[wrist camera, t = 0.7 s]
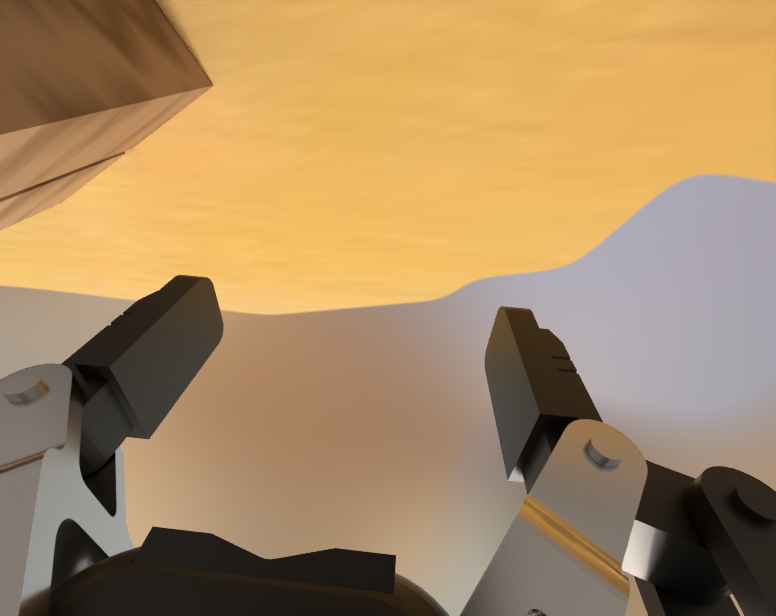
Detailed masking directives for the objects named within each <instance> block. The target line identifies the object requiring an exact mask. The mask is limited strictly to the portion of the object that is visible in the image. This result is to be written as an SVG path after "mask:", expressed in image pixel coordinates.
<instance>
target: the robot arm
mask: <svg viewBox="0 0 776 616" xmlns="http://www.w3.org/2000/svg"><path fill="white" fill-rule="evenodd" d="M222 335H223V321H222V317H221V313H220V309H219V305H218V301H217V297H216V293H215V290H214V286H213V283H212V281H211V280H210V279H209V278H207V277H197V276H187V275H178V276H176V277H174V278H173V279H172V280H171V281H169V282H168V283H167V284H166V285H165V286H164V287H162V288H161V289H160V290H159V291H156V292H154V293H152V294H150V295H148V296H146V297H144V298H142V299H140V300H138V301H137V302H135V303H134V304H133V305H132V306H131V307H129V308H128V309H127V310H126V311H125V312H123V315H120V316H119V317H117V318H116V319H115V320H114V321H112V322H111V326H106V327H105V328H104V329H103V330H102V331H100V332H99V333H98V334H97V335H96V336H94V337H93V338H92V339H91V340H90V341H88V342H87V343H86V344H85V345H84V346H83V347H81V348H80V349H79V350H78V351H76V352H75V353H74V354H73V355H71V356H70V357H69V358H68V359H67V360H65V361H64V362H63V363H62V364H42V365H36V366H32V367H29V368H25V369H22V370H20V371H17V372H15V373H13V374H10V375H8V376H6V377H4V378H2V379H1V380H0V616H449V615H448V613H447V612H446V611H445V610H444V609H443V608H442V607H441V606H440V604H439V603H438V602H437V601H436V600H435V599H434V598H433V597H432V596H430V595H429V594H428V593H427V592H426V591H424V590H423V589H422V588H421V587H419V586H418V585H416V584H415V583H413V582H411V581H410V580H408V579H407V578H405V577H403V576H401V575H399V574H396V573H395V563H396V555H388V554H379V553H371V552H362V551H353V550H346V549H337V548H334V549H328V550H323V551H317V552H311V553H306V554H301V555H295V556H289V557H284V558H278V559H264V558H261V557H259V556H257V555H255V554H253V553H251V552H249V551H246V550H244V549H242V548H240V547H238V546H236V545H234V544H232V543H230V542H228V541H226V540H224V539H222V538H220V537H217V536H215V535H213V534H210V533H202V532H193V531H185V530H176V529H167V528H160V527H152V529H151V531H150V532H149V534H148V536H147V537H146V539H145V541H144V543H143V544H142V546H141V547H137V548H133V544H132V541H131V539H130V537H129V534H128V530H127V525H126V510H125V485H124V459H123V452H122V450H121V448H120V445H121V444H122V442H123V441H124V440H125V438H126V437H134V438H143V439H149V438H150V437H151V436H152V434H153V433H154V432H155V430H156V429H157V428H158V426H159V424H160V423H161V422H162V421H163V419H164V418H165V417H166V415H167V414H168V412H169V411H170V410H171V408H172V407H173V406H174V404H175V403H176V401H177V400H178V399H179V397H180V395H181V394H182V393H183V392H184V390H185V389H186V388H187V386H188V385H189V384H190V382H191V381H192V379H193V378H194V377H195V375H196V374H197V373H198V371H199V370H200V369H201V367H202V366H203V365H204V363H205V361H206V360H207V359H208V358H209V356H210V355H211V354H212V352H213V351H214V349H215V348H216V347H217V345H218V344H219V342H220V340H221V338H222ZM485 371H486V376H487V381H488V386H489V391H490V396H491V401H492V405H493V410H494V415H495V420H496V425H497V429H498V435H499V439H500V444H501V449H502V454H503V459H504V464H505V469H506V473H507V478H508V480H509V481H518V482H525V486H526V490H527V494H528V496H527V498H526V499H525V501H524V503H523V505H522V506H521V508H520V510H519V512H518V514H517V515H516V517H515V519H514V521H513V522H512V524H511V526H510V528H509V529H508V531H507V533H506V535H505V537H504V538H503V540H502V542H501V544H500V545H499V547H498V549H497V551H496V552H495V554H494V556H493V558H492V560H491V561H490V563H489V565H488V567H487V568H486V570H485V572H484V574H483V575H482V577H481V579H480V581H479V583H478V584H477V586H476V588H475V590H474V591H473V593H472V595H471V597H470V598H469V600H468V602H467V604H466V606H465V608H464V609H463V611H462V613H461V615H460V616H625V611H626V608H627V603H628V598H629V592H630V583H629V579H628V578H627V577H626V576H625V575H623V574H622V572H621V570H624V571H626V572H628V573H630V574H632V575H634V577H635V580H636V583H637V586H638V588H639V591H640V594H641V597H642V599H643V602H644V605H645V608H646V610H647V613H648V616H740V614H739V612H738V611H737V609H736V607H735V605H734V603H733V601H732V599H731V597H730V595H731V594H733V595H734V597H735V599H736V601H737V602H738V604H739V606H740V608H741V610H742V612H743V614H744V615H745V616H776V491H774V490H773V489H772V488H770V487H769V486H768V485H766V484H764V483H763V482H761V481H760V480H758V479H756V478H754V477H752V476H750V475H748V474H746V473H744V472H741V471H739V470H736V469H733V468H728V467H722V466H716V467H711V468H708V469H706V470H705V471H704V472H703V473H702V474H701V475H700V476H698V478H696V479H695V478H692V477H689V476H687V475H684V474H681V473H679V472H676V471H673V470H670V469H668V468H665V467H662V466H660V465H657V464H654V463H652V462H649V461H647V460H645V459H644V457H643V455H642V453H641V452H640V450H639V449H638V447H637V446H636V445H635V444H634V443H633V442H632V441H631V440H630V439H629V438H628V437H627V436H625V435H624V434H623V433H621V432H620V431H618V430H617V429H615V428H614V427H611V426H609V425H607V424H605V423H603V421H602V419H601V417H600V416H599V413H598V412H597V410H596V408H595V406H594V404H593V402H592V400H591V398H590V396H589V394H588V392H587V390H586V388H585V386H584V384H583V382H582V380H581V378H580V376H579V374H577V373H576V371H577V370H576V368H575V366H574V364H573V363H572V361H570V356H569V354H568V352H567V350H566V349H565V346H564V344H563V343H562V342H561V341H560V340H559V339H558V338H557V337H556V336H555V335H554V334H553V333H552V332H551V331H549V330H548V329H540V328H539V326H538V324H537V322H536V320H535V317H534V315H533V313H532V311H531V310H530V309H525V308H514V307H503V306H502V307H500V308H499V310H498V312H497V315H496V318H495V322H494V325H493V329H492V332H491V335H490V339H489V342H488V346H487V349H486V355H485Z"/></svg>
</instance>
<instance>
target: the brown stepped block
mask: <svg viewBox="0 0 776 616" xmlns="http://www.w3.org/2000/svg"><path fill="white" fill-rule="evenodd" d="M212 86H213V84H212V83H211V81H210V80H209V78H208V77H207V76H206V74H205V73H204V71H203V70H202V68H201V67H200V65H199V64H198V62H197V61H196V60H195V58H194V57H193V55H192V54H191V52H190V51H189V49H188V48H187V47H186V45H185V44H184V42H183V41H182V39H181V38H180V36H179V35H178V34H177V32H176V31H175V29H174V28H173V26H172V25H171V23H170V22H169V20H168V19H167V18H166V16H165V15H164V13H163V12H162V10H161V9H160V7H159V6H158V5H157V3H156V2H155V0H0V230H2V229H5V228H7V227H9V226H11V225H13V224H16V223H18V222H20V221H22V220H24V219H26V218H29V217H31V216H33V215H35V214H37V213H40V212H42V211H44V210H46V209H48V208H51V207H53V206H55V205H57V204H59V203H62V202H63V201H64V200H66V199H67V198H68V197H69V196H71V195H72V194H73V193H75V192H76V191H77V190H79V189H80V188H81V187H82V186H84V185H85V184H86V183H88V182H89V181H90V180H92V179H93V178H94V177H95V176H97V175H98V174H99V173H101V172H102V171H103V170H104V169H106V168H107V167H108V166H110V165H111V164H112V163H114V162H115V161H116V160H117V159H119V158H120V157H121V156H123V155H124V154H125V153H124V152H123V151H126V150H129V149H131V148H133V147H134V146H136V145H137V144H138V143H139V142H141V141H142V140H143V139H145V138H146V137H147V136H149V135H150V134H151V133H152V132H154V131H155V130H156V129H158V128H159V127H160V126H162V125H163V124H164V123H165V122H167V121H168V120H169V119H171V118H172V117H173V116H175V115H176V114H177V113H178V112H180V111H181V110H182V109H184V108H185V107H186V106H187V105H189V104H190V103H191V102H193V101H194V100H195V99H197V98H198V97H199V96H200V95H202V94H203V93H204V92H206V91H207V90H208V89H210V88H211V87H212Z"/></svg>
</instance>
